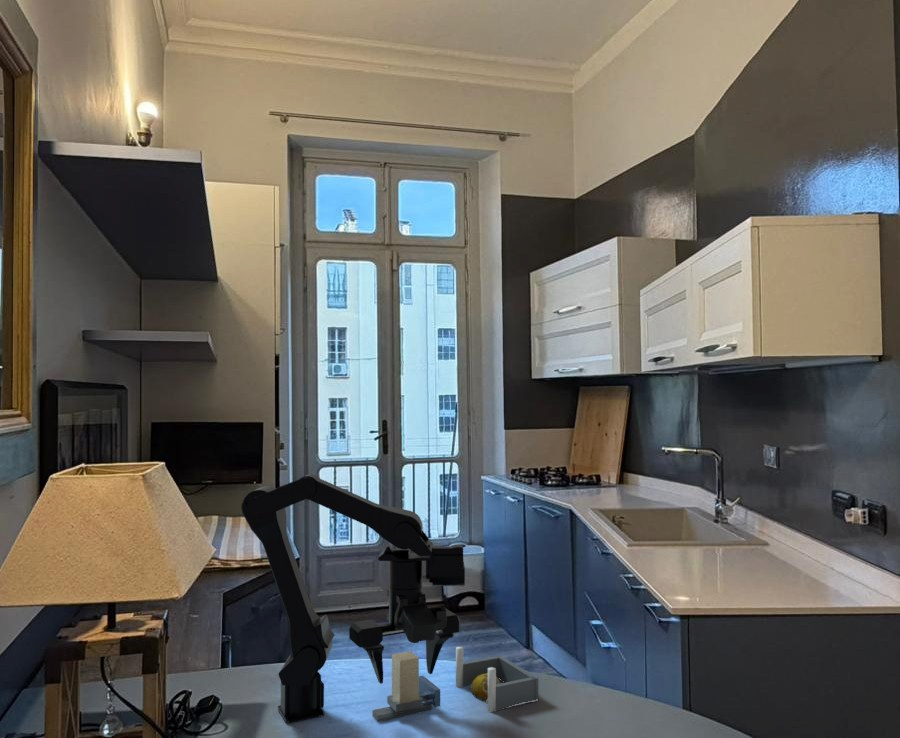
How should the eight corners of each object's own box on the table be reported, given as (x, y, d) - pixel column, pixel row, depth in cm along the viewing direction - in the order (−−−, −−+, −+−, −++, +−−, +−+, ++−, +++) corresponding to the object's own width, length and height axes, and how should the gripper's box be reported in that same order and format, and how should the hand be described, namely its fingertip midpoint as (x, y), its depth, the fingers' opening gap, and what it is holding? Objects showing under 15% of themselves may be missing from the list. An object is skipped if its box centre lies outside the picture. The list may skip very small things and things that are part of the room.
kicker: (399, 715, 116) (399, 664, 116) (384, 699, 122) (384, 651, 123) (440, 706, 119) (440, 657, 120) (423, 692, 126) (423, 645, 126)
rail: (377, 721, 117) (377, 715, 117) (372, 716, 119) (372, 710, 119) (431, 710, 121) (431, 704, 121) (426, 704, 123) (426, 699, 123)
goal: (490, 712, 120) (490, 670, 120) (454, 685, 132) (454, 647, 132) (539, 701, 125) (538, 661, 125) (500, 676, 136) (500, 639, 137)
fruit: (497, 711, 121) (497, 689, 121) (460, 698, 127) (460, 677, 127) (524, 696, 128) (524, 675, 128) (487, 684, 133) (487, 665, 133)
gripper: (371, 604, 110) (370, 706, 109) (475, 590, 118) (475, 684, 117) (348, 588, 120) (347, 681, 119) (446, 576, 128) (446, 663, 127)
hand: (405, 678), depth 120 cm, fingers open, 9 cm apart
